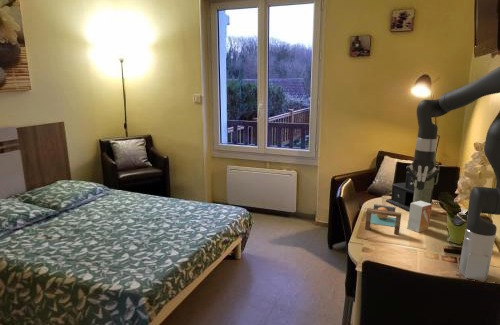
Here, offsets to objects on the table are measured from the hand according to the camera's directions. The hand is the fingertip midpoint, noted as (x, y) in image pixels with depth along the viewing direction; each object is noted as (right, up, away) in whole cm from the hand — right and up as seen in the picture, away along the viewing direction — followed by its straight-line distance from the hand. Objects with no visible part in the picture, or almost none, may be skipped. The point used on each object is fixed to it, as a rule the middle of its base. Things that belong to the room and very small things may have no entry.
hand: (419, 189), depth 152 cm
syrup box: (+21, -24, +10) cm, 33 cm away
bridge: (-9, -21, +19) cm, 30 cm away
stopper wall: (+2, -15, +46) cm, 48 cm away
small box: (+10, -21, +23) cm, 32 cm away
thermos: (+15, -18, +34) cm, 42 cm away
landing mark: (-4, -18, +32) cm, 37 cm away
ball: (-3, -15, +34) cm, 37 cm away
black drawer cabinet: (+18, -14, +54) cm, 58 cm away
